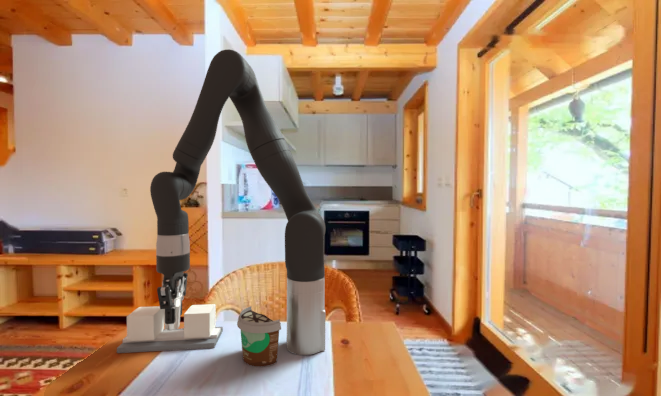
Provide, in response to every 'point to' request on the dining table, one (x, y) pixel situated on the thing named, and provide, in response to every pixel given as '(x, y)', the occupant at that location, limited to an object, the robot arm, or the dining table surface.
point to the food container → (258, 338)
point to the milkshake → (178, 309)
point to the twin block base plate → (152, 336)
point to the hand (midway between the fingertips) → (173, 319)
